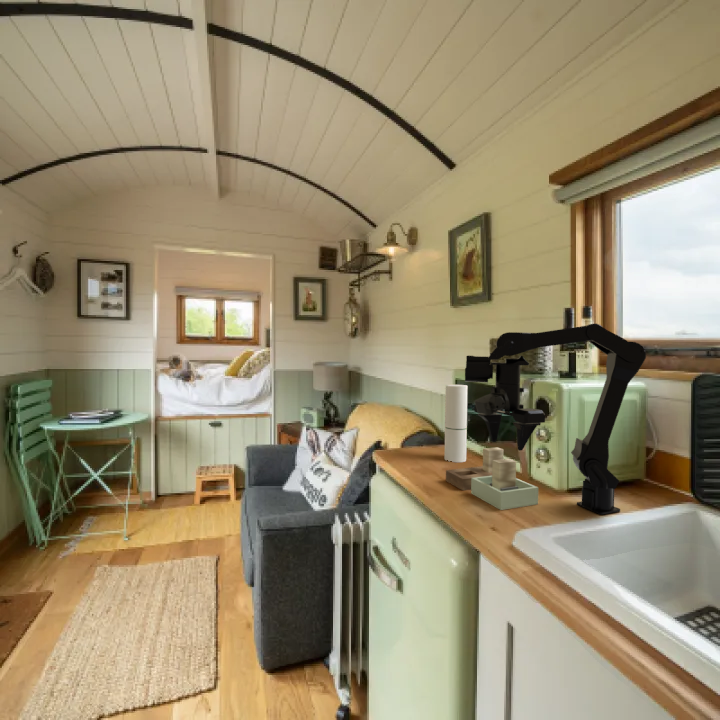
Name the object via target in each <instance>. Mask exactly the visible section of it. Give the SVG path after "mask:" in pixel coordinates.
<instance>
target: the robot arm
mask: <svg viewBox="0 0 720 720" xmlns="http://www.w3.org/2000/svg"><path fill="white" fill-rule="evenodd" d="M583 342H588V343H590V344H591V345H593V346H594V347H596V348H597V350H599V351H601V352H602V353H604V354H605V355H607V356H606V367H605V368H606V371H605V372H606V379H605V382H604V385H603V387H602V391H601V394H600V397H599V399H598V402H597V406H596V409H595V411H594V413H593V417H592V421H591V424H590V426H589V429H588V432H587V434H586V435H585V436H584V437H583V439H581V438H578V437H576V439H575V441H574V442H575V443H574V444H575V445H574V448H573V449H572V450H571V452H570V453H571V454H572V457H573V458H572V461H573V463H574V465H575V466H576V467H577V469H578V470H579V471H580V473H581V474H582V475H583V476H584V477H585V478H584V480H582V488H581V501H576V506H579V507H582V508H584V509H586V510H589V511H590V512H593V513H596V514H598V515H608V514H612V513H618V512H621V508H619V507H616V506H615V489H616V488H617V487H618V484H619V482H620V481H619V479H618V478H617V477H616V476H615V475H614V474H613V473H612V472H611V471H610V470H609V469H608V465H609V457H610V454H609V453H610V452H609V451H610V449H609V441H610V439H611V436H612V435H611V434H612V432H613V430H614V426H615V423H616V421H617V417H618V414H619V412H620V409H621V407H622V403H623V400H624V397H625V395H626V392H627V388H628V385H629V383H630V382H631V381H632V380H633V378H634V377H635V376H636V375H637V374H638V372H639V371H640V369H641V368H642V366H643V365H644V362H645V360H646V358H647V351H646V350H645V348H644V347H643V345H642V344H640V343H639V342H636V341H629V340H627V339H625V338H624V337H621V336H620V335H617V334H616V333H613V332H612V331H610V330H608V329H607V328H604V327H603V326H602V325H601V324H599V323H590V324H586V325H581V326H576V327H575V326H574V327H568V328H561V329H553V330H547V331H541V332H516V331H515V332H514V331H513V332H505V333H503V334H501V335H499V337H498V338H497V340H496V341H495V344H496V345H495V348H494V350H493V351H492V352H490V353H489V356H479V355H478V356H477V355H476V356H475V355H466V357H465V358H466V360H465V368H464V382H465V383H485V384H486V383H489V380H492V379H493V377H494V366H495V386H491V388H490V393H489V394H484V395H483V396H480V397H478V398H476V399H475V400H474V408H473V409H474V412H475V413H476V414H477V415H478V417H480V418H481V419H482V420H484V423H485V426H486V429H487V431H488V434H489V437H490V439H491V442H492V443H496V442H497V440H498V435H499V432H500V426H501V422H502V417H503V415H505V416H510V417H513V419H514V421H515V422H512V425H513V426H514V427H515V429H516V443H517V445H516V446H517V450H518V451H523V450H524V448H525V447H526V445H527V443H528V441H529V439H530V437H531V436H532V434H533V433H534V431H535V430H536V428H537V427H538V426H541V424H542V423H545V422H546V414H545V412H544V411H543V409H538V408H531V407H530V408H529V407H527V408H524V404H523V403H522V404H521V403H520V402H521V399H520V398H521V393H525V388H524V387H521V366H529V365H530V362H529V361H527V360H526V359H525V358H524V356H523V355H520V356H519V357H517V358H505V362H492V360H493V361H499V360H500V359H501V358H503V357H505V356H506V357H512V356H515V355H518V354H523V353H525V352H529V351H532V350H535V349H538V348H543V347H544V348H545V347H551V346H560V345H567V344H574V343H575V344H576V343H583Z"/></svg>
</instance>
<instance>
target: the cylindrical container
mask: <svg viewBox="0 0 720 720" xmlns="http://www.w3.org/2000/svg"><path fill="white" fill-rule="evenodd" d="M468 388H469V387H468V385H466V384H465V385H464V384H445V396H444V397H445V399H444V400H445V401H444V402H445V403H444V404H445V405H444V406H445V407H444V409H445V410H444V411H445V412H444V454H443V455H444V460H445V461H447V460H448V461H447V462H450V461H452V462H451V463H464V462H466V461H467V444H468V443H467V432H468V431H467V430H468V427H467V426H468Z"/></svg>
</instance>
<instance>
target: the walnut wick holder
mask: <svg viewBox="0 0 720 720" xmlns="http://www.w3.org/2000/svg"><path fill="white" fill-rule="evenodd" d="M484 476H492V472H490V473H488V472H486V471H484V470H483V465H481V466H474V467H473V466H472V467H464V468H463V467H462V468H454V469H446V470H445V481H446V482H447V483H449V484H450V483H451V485H452V486H454V487H456V488H457V489H459V490H461V491H469V490H471V479H472V478H475V477H484Z"/></svg>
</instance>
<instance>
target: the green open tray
mask: <svg viewBox="0 0 720 720" xmlns="http://www.w3.org/2000/svg"><path fill="white" fill-rule="evenodd" d="M470 493H471V494H472V495H473V496H475V497H477V498H479V499H481V500H482V501H484V502H485V503H487V504H489V505H491V506H493V507H495V508H496V509H498V510H500V511H502V510H503V511H504V510H509V509H515V508H523V507H528V506H536V505H538V504H539V487H538V486H536V485H534V484H531V483H528V482H526V481H524V480H521V479H519V478H517V477H516V486H515V487H508V488H500V490H498V489H496V488H494V487H492V476H484V477H475V478H472V479H471V492H470Z"/></svg>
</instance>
